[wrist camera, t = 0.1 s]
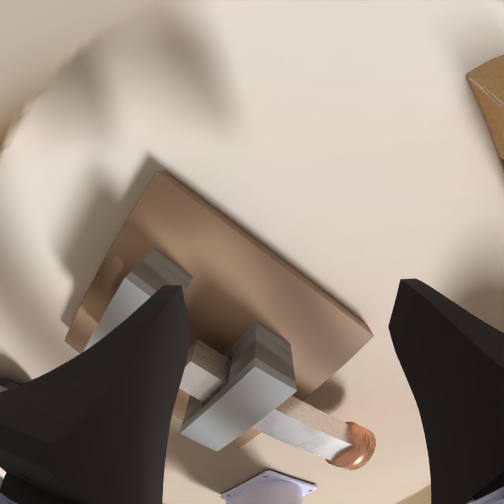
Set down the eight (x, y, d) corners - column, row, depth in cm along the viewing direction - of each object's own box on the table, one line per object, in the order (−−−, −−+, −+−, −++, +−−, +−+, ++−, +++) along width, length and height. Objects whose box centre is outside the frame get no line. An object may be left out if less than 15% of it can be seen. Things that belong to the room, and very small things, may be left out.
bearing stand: (239, 436, 26) (235, 489, 20) (72, 331, 23) (34, 374, 17) (367, 325, 22) (396, 377, 16) (164, 170, 19) (124, 179, 13)
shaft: (335, 444, 24) (343, 478, 20) (175, 360, 21) (161, 397, 17) (369, 420, 23) (380, 454, 19) (206, 324, 20) (195, 361, 16)
